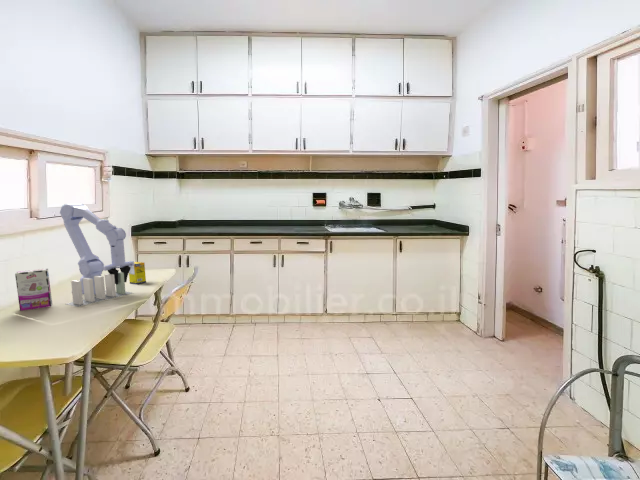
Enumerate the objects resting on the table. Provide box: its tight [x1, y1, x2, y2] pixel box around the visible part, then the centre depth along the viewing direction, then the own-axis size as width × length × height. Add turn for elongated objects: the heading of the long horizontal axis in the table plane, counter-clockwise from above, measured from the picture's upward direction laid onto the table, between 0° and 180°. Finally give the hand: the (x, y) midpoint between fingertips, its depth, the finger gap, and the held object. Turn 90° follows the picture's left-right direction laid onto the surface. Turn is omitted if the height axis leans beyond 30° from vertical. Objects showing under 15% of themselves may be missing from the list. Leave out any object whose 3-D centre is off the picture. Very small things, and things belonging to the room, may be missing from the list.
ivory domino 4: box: [104, 273, 116, 297], centre depth 192 cm, size 2×5×10 cm, turn 58°
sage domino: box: [115, 271, 126, 294], centre depth 197 cm, size 2×5×10 cm, turn 55°
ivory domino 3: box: [94, 275, 106, 299], centre depth 188 cm, size 2×5×10 cm, turn 58°
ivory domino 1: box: [70, 279, 84, 305], centre depth 180 cm, size 2×5×10 cm, turn 58°
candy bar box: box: [14, 268, 53, 312], centre depth 176 cm, size 11×5×16 cm, turn 117°
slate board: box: [66, 291, 133, 308], centre depth 189 cm, size 26×10×1 cm, turn 148°
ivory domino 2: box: [83, 278, 95, 302], centre depth 184 cm, size 2×5×10 cm, turn 58°
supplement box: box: [128, 261, 147, 285], centre depth 221 cm, size 6×6×11 cm
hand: (120, 283), depth 197 cm, fingers open, 4 cm apart
